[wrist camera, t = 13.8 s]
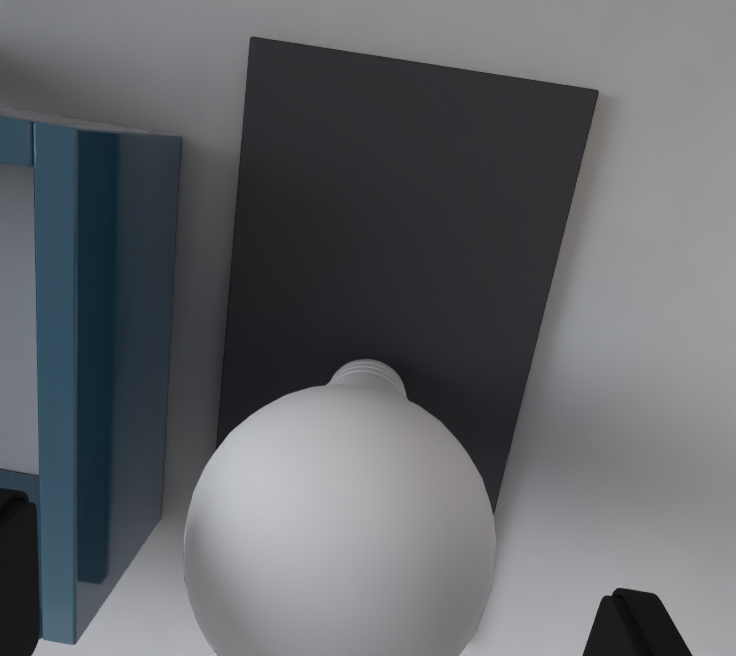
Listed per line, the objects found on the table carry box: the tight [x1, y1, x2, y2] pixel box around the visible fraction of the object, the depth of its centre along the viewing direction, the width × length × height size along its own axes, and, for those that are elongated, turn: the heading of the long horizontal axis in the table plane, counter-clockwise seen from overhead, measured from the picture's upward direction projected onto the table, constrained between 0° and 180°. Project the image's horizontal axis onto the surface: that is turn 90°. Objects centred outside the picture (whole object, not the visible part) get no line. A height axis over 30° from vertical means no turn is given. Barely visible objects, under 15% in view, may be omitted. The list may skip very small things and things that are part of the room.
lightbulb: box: [183, 359, 496, 656], centre depth 14 cm, size 6×6×11 cm
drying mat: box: [216, 37, 599, 515], centre depth 20 cm, size 10×20×1 cm, turn 171°
